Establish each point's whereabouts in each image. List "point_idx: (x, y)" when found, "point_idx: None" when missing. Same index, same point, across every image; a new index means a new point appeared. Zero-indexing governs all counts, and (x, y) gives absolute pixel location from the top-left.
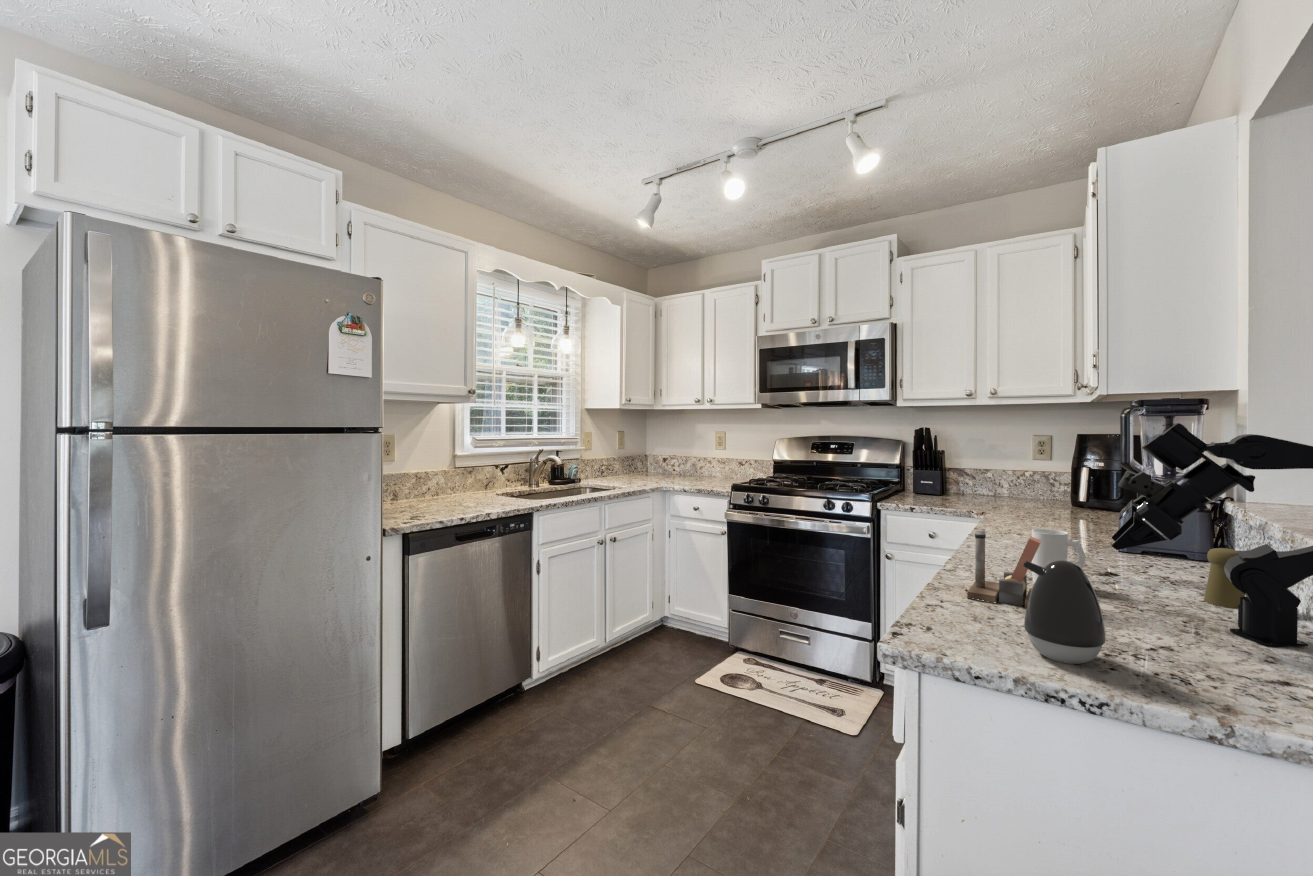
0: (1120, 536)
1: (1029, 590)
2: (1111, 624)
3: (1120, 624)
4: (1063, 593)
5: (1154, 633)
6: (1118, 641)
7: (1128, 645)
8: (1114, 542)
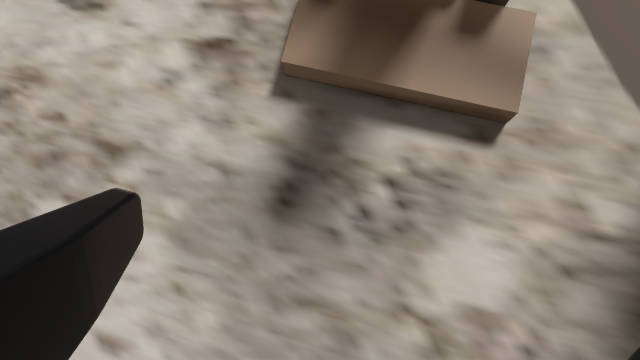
0: (6, 252)
1: (482, 3)
2: (221, 230)
3: (233, 261)
4: None
5: (162, 347)
6: (37, 199)
7: (6, 218)
8: (88, 202)
